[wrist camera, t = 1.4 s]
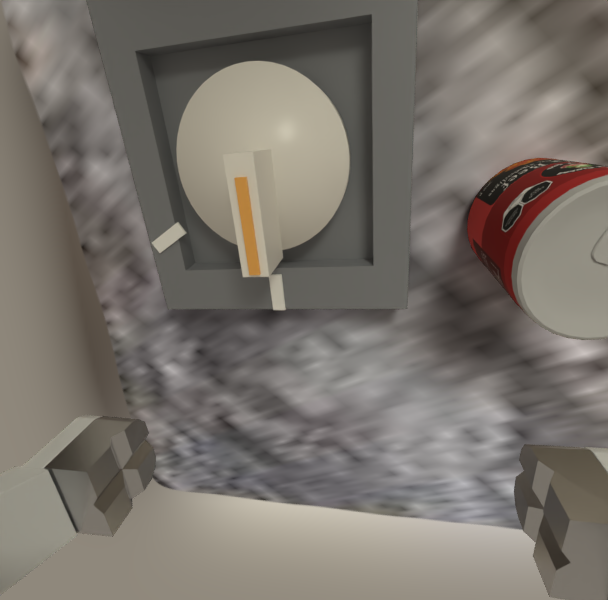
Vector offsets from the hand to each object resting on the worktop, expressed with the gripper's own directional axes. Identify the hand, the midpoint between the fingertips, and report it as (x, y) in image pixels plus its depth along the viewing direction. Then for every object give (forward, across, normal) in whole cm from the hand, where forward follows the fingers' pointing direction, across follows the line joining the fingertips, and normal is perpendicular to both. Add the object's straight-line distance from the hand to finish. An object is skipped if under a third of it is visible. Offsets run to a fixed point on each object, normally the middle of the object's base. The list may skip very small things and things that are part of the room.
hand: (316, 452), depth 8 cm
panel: (+23, +6, -6) cm, 24 cm away
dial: (+21, +6, -5) cm, 23 cm away
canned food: (+23, -12, -1) cm, 26 cm away
